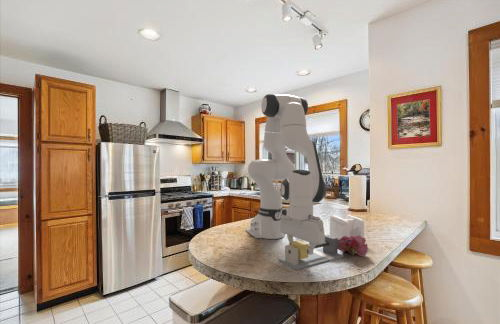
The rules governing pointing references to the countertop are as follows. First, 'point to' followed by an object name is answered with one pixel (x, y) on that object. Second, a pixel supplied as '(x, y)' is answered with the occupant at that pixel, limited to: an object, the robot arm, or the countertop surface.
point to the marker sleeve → (301, 248)
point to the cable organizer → (346, 226)
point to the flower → (353, 245)
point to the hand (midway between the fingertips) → (300, 250)
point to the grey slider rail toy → (318, 256)
